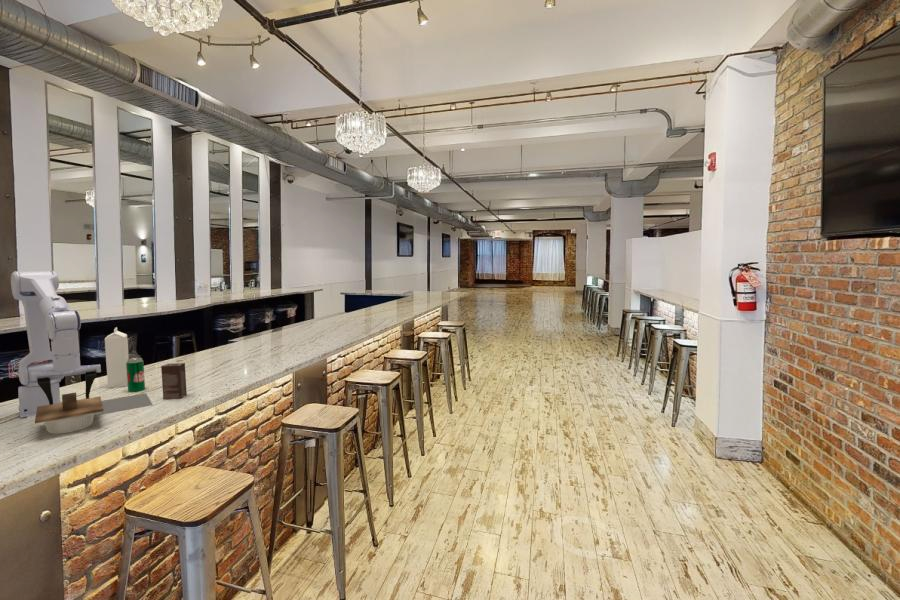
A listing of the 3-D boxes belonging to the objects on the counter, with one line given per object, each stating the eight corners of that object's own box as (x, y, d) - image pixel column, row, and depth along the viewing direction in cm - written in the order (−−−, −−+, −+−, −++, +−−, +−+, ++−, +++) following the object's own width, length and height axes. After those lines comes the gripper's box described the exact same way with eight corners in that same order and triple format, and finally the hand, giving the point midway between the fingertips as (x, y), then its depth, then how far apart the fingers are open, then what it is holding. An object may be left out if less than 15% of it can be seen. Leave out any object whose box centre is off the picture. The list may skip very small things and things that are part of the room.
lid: (35, 423, 112) (33, 407, 112) (37, 409, 123) (36, 394, 122) (103, 411, 121) (102, 396, 121) (100, 398, 132) (99, 385, 131)
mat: (89, 418, 130) (89, 416, 129) (87, 404, 141) (87, 403, 141) (153, 406, 140) (152, 405, 140) (146, 394, 152) (146, 393, 152)
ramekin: (82, 419, 129) (80, 402, 129) (105, 424, 125) (103, 407, 124) (34, 433, 119) (33, 414, 118) (58, 439, 115) (56, 420, 114)
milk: (108, 388, 159) (103, 329, 156) (111, 384, 164) (106, 327, 162) (128, 386, 162) (124, 328, 159) (130, 382, 167) (126, 326, 165)
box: (187, 395, 151) (185, 362, 150) (181, 399, 147) (179, 365, 146) (168, 396, 150) (166, 362, 149) (162, 400, 146) (160, 366, 145)
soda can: (136, 393, 153) (134, 360, 152) (124, 392, 154) (122, 360, 153) (148, 389, 158) (146, 357, 157) (137, 388, 159) (135, 356, 158)
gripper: (29, 360, 113) (33, 410, 114) (100, 352, 122) (103, 398, 123) (30, 355, 118) (34, 403, 119) (98, 348, 127) (101, 392, 129)
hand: (69, 400), depth 122 cm, fingers open, 7 cm apart
